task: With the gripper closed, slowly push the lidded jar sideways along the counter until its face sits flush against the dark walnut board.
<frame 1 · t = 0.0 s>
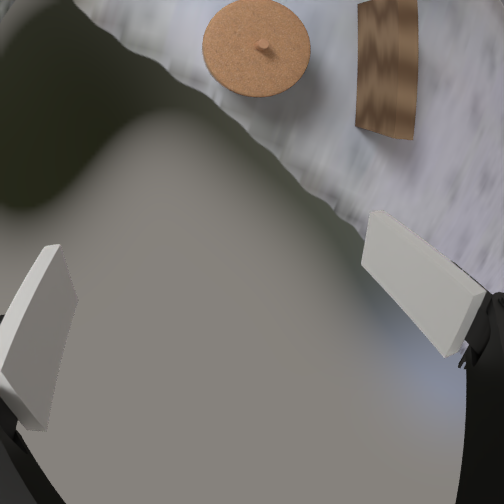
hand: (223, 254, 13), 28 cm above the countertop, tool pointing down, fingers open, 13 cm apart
board: (367, 64, 36), on the countertop
lidded jar: (242, 53, 33), on the countertop
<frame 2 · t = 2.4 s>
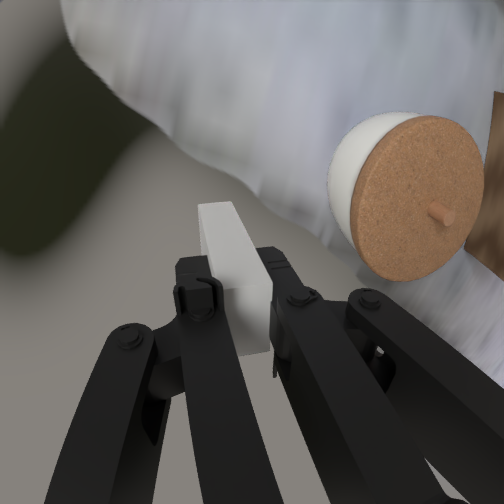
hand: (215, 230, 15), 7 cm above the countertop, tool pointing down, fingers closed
board: (490, 174, 27), on the countertop
lidded jar: (366, 167, 24), on the countertop
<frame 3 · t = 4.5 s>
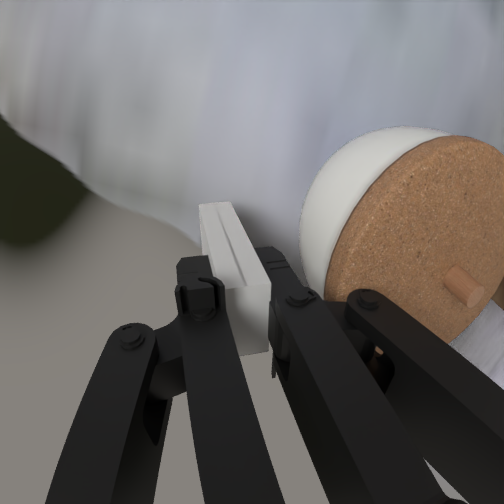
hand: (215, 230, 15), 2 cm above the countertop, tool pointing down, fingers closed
lidded jar: (357, 200, 18), on the countertop, touching gripper
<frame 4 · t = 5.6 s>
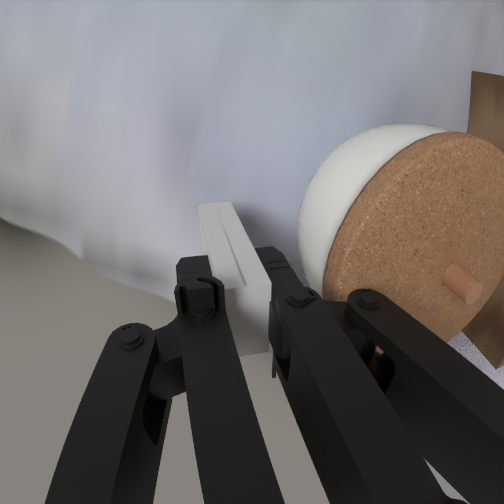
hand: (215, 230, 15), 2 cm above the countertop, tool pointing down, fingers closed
board: (469, 193, 20), on the countertop
lidded jar: (357, 198, 18), on the countertop, touching gripper
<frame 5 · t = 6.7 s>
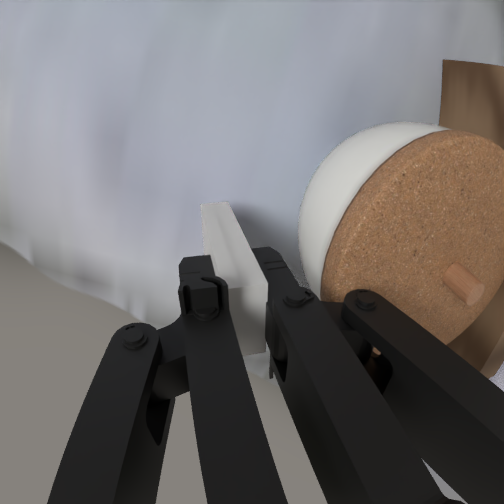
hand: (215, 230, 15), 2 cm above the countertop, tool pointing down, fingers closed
board: (443, 196, 19), on the countertop
lidded jar: (359, 197, 18), on the countertop, touching board, gripper
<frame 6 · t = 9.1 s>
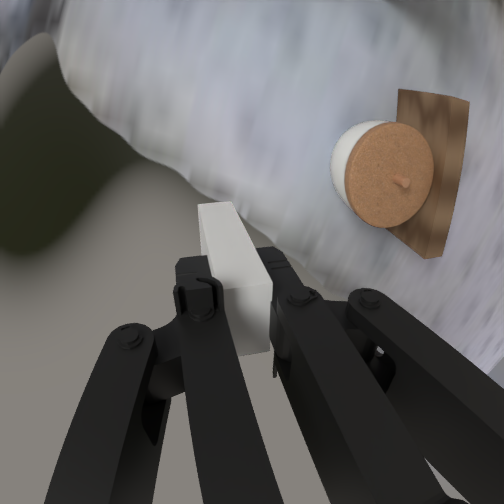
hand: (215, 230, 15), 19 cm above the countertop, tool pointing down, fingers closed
board: (401, 160, 36), on the countertop
lidded jar: (355, 158, 35), on the countertop, touching board
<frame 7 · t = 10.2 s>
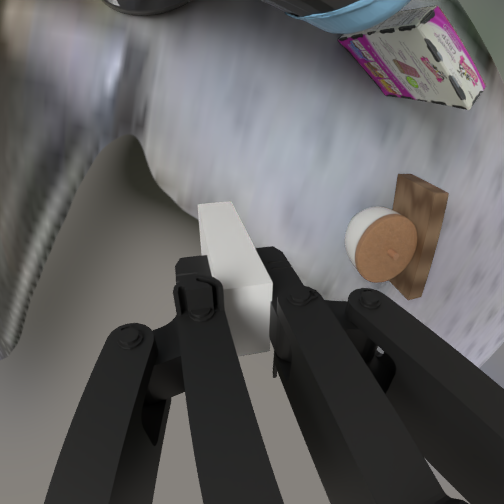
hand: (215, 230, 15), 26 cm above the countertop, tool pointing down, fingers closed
board: (396, 224, 51), on the countertop
lidded jar: (362, 227, 50), on the countertop
candy bar box: (371, 57, 37), on the countertop
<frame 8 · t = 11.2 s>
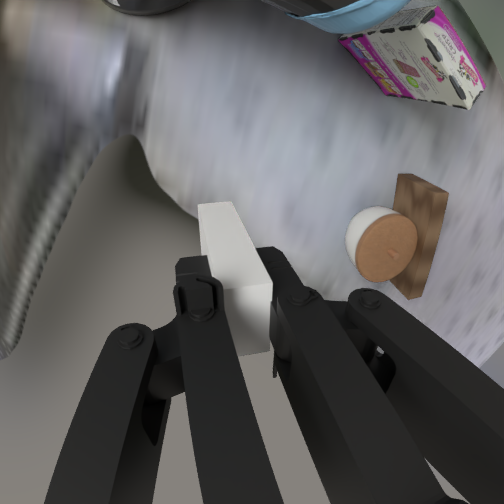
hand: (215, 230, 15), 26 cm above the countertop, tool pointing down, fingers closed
board: (396, 224, 51), on the countertop
lidded jar: (362, 227, 50), on the countertop
candy bar box: (371, 57, 37), on the countertop
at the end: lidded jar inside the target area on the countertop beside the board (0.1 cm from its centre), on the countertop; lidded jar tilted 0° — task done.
